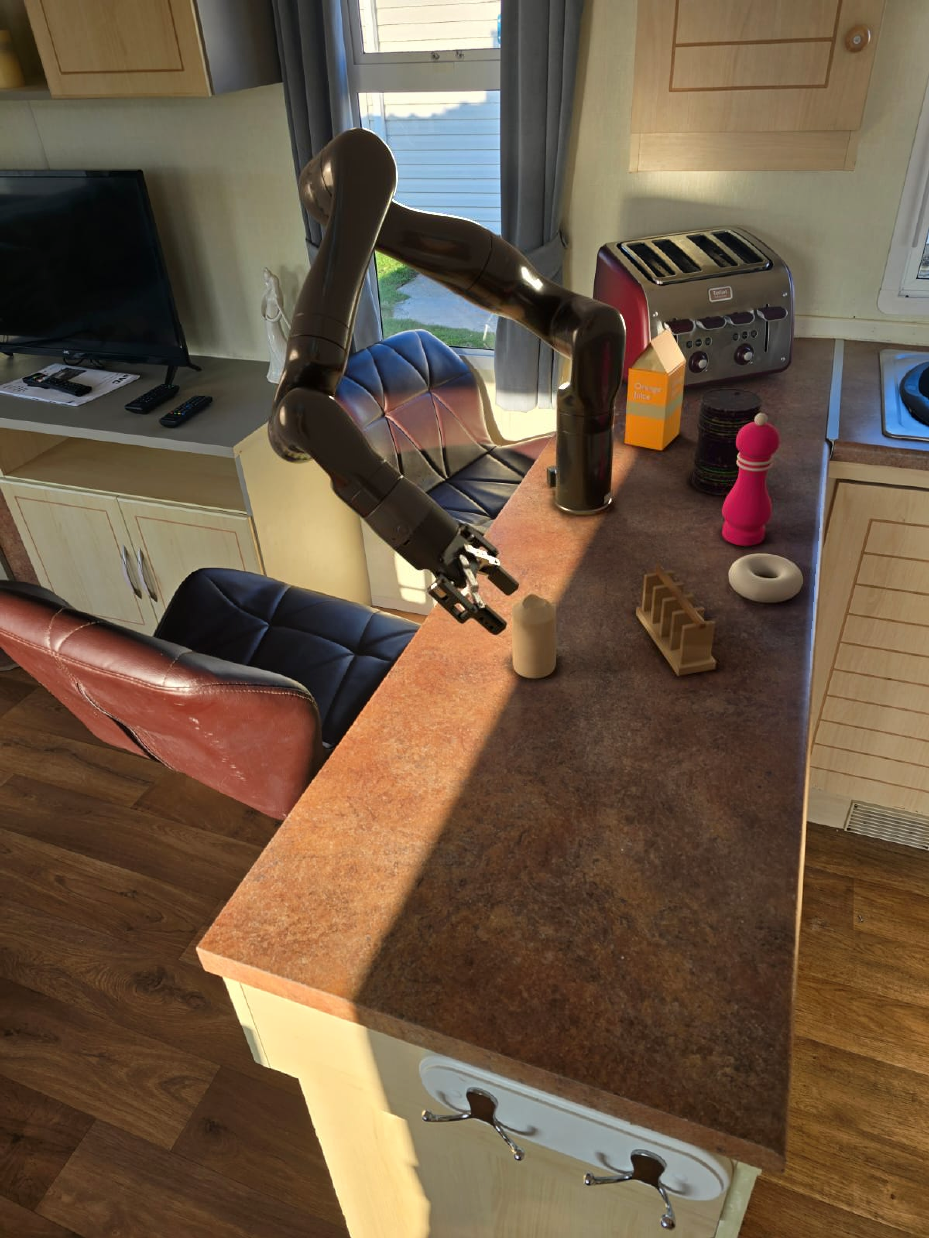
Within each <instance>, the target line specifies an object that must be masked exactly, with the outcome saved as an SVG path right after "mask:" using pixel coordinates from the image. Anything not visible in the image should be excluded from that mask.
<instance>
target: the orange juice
mask: <svg viewBox="0 0 929 1238" xmlns="http://www.w3.org/2000/svg"><path fill="white" fill-rule="evenodd" d="M686 364H687V359H686V358H685V356H684V354H683V352H682V351H681V348H680V347H679V345H678V343H677V341H676V339H675V337H674V334H673V333H672V331H671V330H670V328H669V327H667V328H665V330H663V331H662V332H661V333H659V334H658V335H657V336H655V337H654V338H652V339H651V340H650V341H649V342H648V343H647V345H646V346H645V348H644V349H643V350H642V351H641V353H639V354H638V356H637V358H635V360H634V361H633V363H632V364H631V365H630V366H629V368H628V378H627V379H628V380H627V381H628V382H627V397H626V407H625V408H626V410H625V414H626V415H625V429H624V430H625V432H624V444H626V445H629V446H630V445H631V446H636V447H641V448H647V449H652V450H656V451H657V450H658V451H663V450H664V449H665V448H666V447H667V446H668V445H669V444H670V443H671V442H673V440H674V439H675V438H676V437H677V436H678V435H680V424H681V415H682V405H683V397H684V385H685V375H686Z"/></svg>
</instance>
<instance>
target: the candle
mask: <svg viewBox="0 0 929 1238" xmlns="http://www.w3.org/2000/svg"><path fill="white" fill-rule="evenodd" d="M510 615H511V617H510V618H511V646H512V647H511V651H512V653H511V654H512V667H513V669H514V671H515V672H516V673H517V674H518V675H519V676H522V677H523V678H527V679H541V678H544V677H548V676H549V675H551V674H552V673H553V672H554V670H555V669H556V665H557V608H556V606H555V605H554V604H553V603H552V602H551V601H550V600H548V599H547V598H543V597H540V596H538V595H537V594H534V593H529V594H528V595H527V596H525V597H523V598H522V599H521V600H519V601H517V602H515V604H513V606H512V607H511V610H510Z"/></svg>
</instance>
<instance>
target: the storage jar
mask: <svg viewBox="0 0 929 1238" xmlns="http://www.w3.org/2000/svg"><path fill="white" fill-rule="evenodd" d="M700 397H701V398H700V406H699V412H698V419H697V420H698V422H697V432H698V434H697V445H696V449H695V451H694V458H693V463H692V474H693V475H692V477H691V483H692V486H693V487H695V488H696V489H698V490H700V491H701V492H706V493H707V494H712V495H719V496H720V495H721V496H728V494H729V493H730V491H731V490H732V488H733V487H734V485H735V483H736V481H737V479H738V474H739V466H738V465H737V460H738V457H737V456H738V453H740V452H739V450H738V449H737V446H736V439H737V435H738V433H739V431H740V430H741V428H742V427H744V426H745V425H747V424H749V423H752V422H755V417H756V415H758V414H760V413H762V407H763V406H762V405H763V398H762V396H761V395H759V394H758V393H756V392H753V391H750V390H748V389H747V390H746V389H742V388H732V387H731V388H729V387H728V388H716V389H712V390H708V391H706V392H704V393H703V394H702V395H701V396H700Z"/></svg>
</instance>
